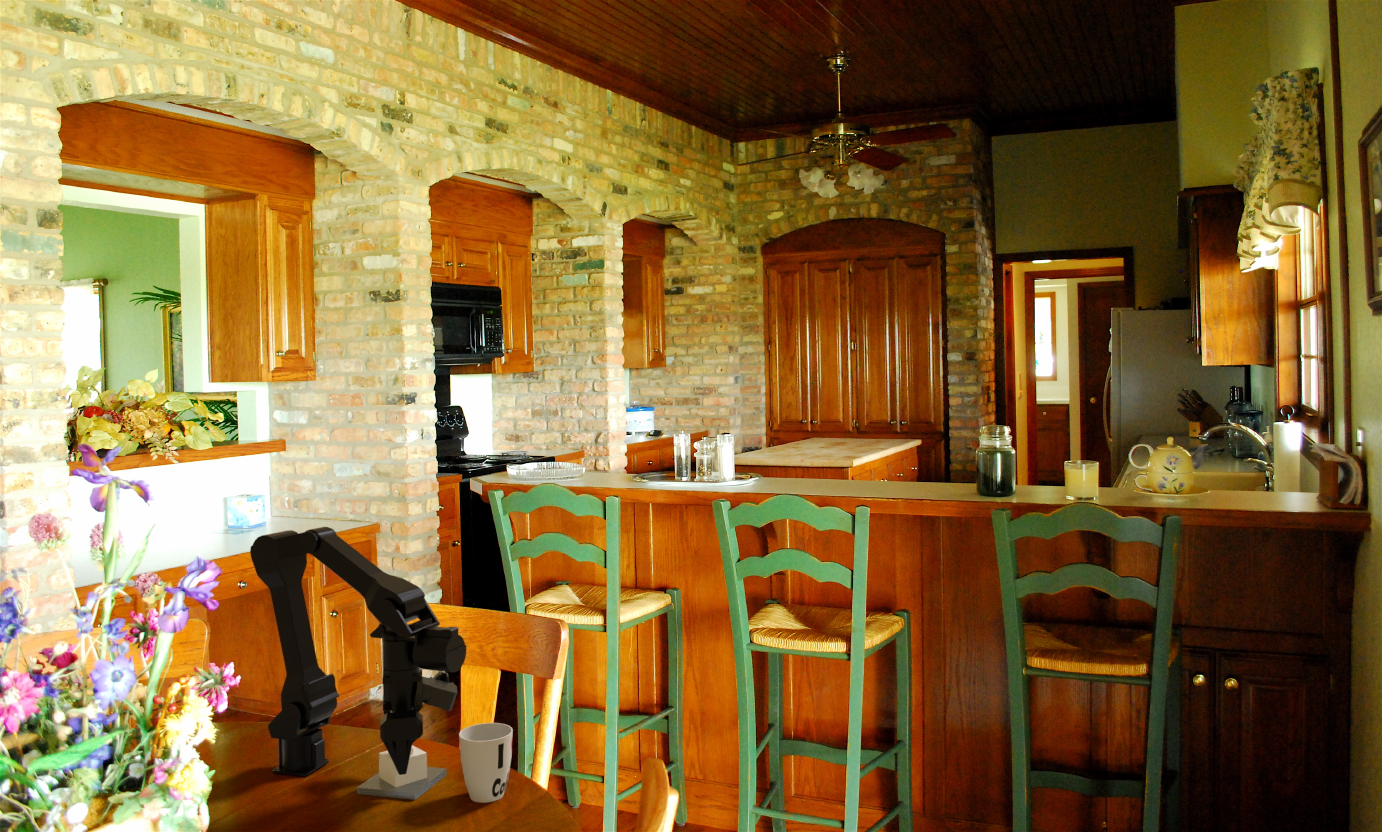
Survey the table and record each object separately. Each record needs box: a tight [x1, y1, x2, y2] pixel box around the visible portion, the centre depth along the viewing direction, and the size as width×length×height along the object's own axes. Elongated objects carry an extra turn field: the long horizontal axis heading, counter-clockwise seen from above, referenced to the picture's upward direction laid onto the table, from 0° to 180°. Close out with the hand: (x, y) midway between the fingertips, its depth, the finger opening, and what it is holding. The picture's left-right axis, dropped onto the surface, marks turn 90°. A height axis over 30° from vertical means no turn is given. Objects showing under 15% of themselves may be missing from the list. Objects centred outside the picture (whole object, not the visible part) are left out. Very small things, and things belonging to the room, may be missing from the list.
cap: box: [378, 744, 428, 787], centre depth 156 cm, size 5×5×4 cm
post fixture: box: [356, 766, 448, 801], centre depth 156 cm, size 10×10×4 cm
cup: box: [458, 722, 514, 804], centre depth 151 cm, size 8×8×10 cm
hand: (402, 763), depth 156 cm, fingers open, 9 cm apart
